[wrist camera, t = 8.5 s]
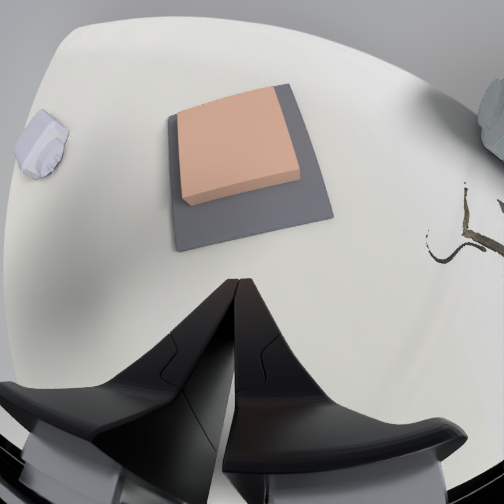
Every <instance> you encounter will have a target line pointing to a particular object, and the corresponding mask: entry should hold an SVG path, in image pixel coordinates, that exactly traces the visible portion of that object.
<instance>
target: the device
mask: <svg viewBox="0 0 504 504" xmlns="http://www.w3.org/2000/svg"><path fill="white" fill-rule="evenodd" d="M478 123H479V125H480V126H481V127H482V130H481V140H482V142H483V144H484V146H485V147H486V148H487V149H488V150H490V151H491V152H492V153H494V154H495V155H496V156H497V157H498V158H500V159H501V160H502V161H503V162H504V79H503V80H501V81H500V80H498V79H495V80H494V81H492V82H491V84H490V85H489V87H488V89H487V90H486V92H485V94H484V97H483V99H482V101H481V104H480V108H479V112H478Z"/></svg>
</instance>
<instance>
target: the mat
mask: <svg viewBox="0 0 504 504" xmlns="http://www.w3.org/2000/svg"><path fill="white" fill-rule="evenodd" d="M273 87H274V90H275V93H276V96H277V98H278V101H279V104H280V107H281V110H282V113H283V116H284V119H285V122H286V126H287V129H288V132H289V135H290V138H291V141H292V145H293V148H294V151H295V155H296V158H297V161H298V165H299V168H300V180H296V181H291V182H287V183H282V184H278V185H273V186H269V187H264V188H260V189H256V190H252V191H247V192H243V193H239V194H235V195H231V196H227V197H223V198H219V199H216V200H212V201H208V202H204V203H201V204H197V205H193V206H191V205H189V204H188V203H187V202H186V201H185V200H184V199H183V198H182V188H181V176H180V161H179V144H178V122H177V114H175V115H172V116H169V151H170V173H171V190H172V204H173V217H174V228H175V238H176V248H177V251H178V252H182V251H187V250H191V249H195V248H200V247H204V246H208V245H213V244H217V243H221V242H226V241H230V240H235V239H239V238H244V237H248V236H252V235H257V234H261V233H266V232H271V231H275V230H280V229H284V228H289V227H294V226H298V225H303V224H308V223H312V222H317V221H322V220H326V219H331V218H333V217H334V215H333V212H332V208H331V204H330V201H329V197H328V194H327V191H326V187H325V184H324V181H323V177H322V174H321V171H320V168H319V165H318V161H317V158H316V155H315V152H314V149H313V146H312V143H311V141H310V138H309V135H308V132H307V129H306V126H305V124H304V121H303V118H302V115H301V113H300V110H299V107H298V105H297V102H296V100H295V97H294V95H293V92H292V90H291V87H290V85H289V84H284V85H278V86H273Z"/></svg>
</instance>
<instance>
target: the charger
mask: <svg viewBox="0 0 504 504" xmlns="http://www.w3.org/2000/svg"><path fill="white" fill-rule="evenodd" d="M68 136H69V131H68V130H67V129H66V128H65V127H64V126H63V125H62V124H61V123H60V122H59V121H58V120H57V119H55V118H54V117H53V116H52V115H51V114H49V113H48V112H47V111H45V110H44V109H41V110H39V111H38V112H37V113H36V114H35V115H34V117H33V118H32V120H31V121H30V122H29V124H28V125H27V127H26V128H25V130H24V131H23V133H22V134H21V136H20V138H19V139H18V141H17V142H16V144H15V146H14V148H13V153H14V155H15V158H16V160H17V162H18V164H19V167H20V169H21V171H22V172H23V173H25V174H26V175H28V176H30V177H32V178H34V179H39V178H40V177H43V176H46V175H47V174H48V173H50V172H53V171H54V168H55V166H56V165H57V163H58V162H59V161H60V160H61V157H62V153H63V150H64V143H65V142H66V140H67V138H68Z"/></svg>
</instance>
